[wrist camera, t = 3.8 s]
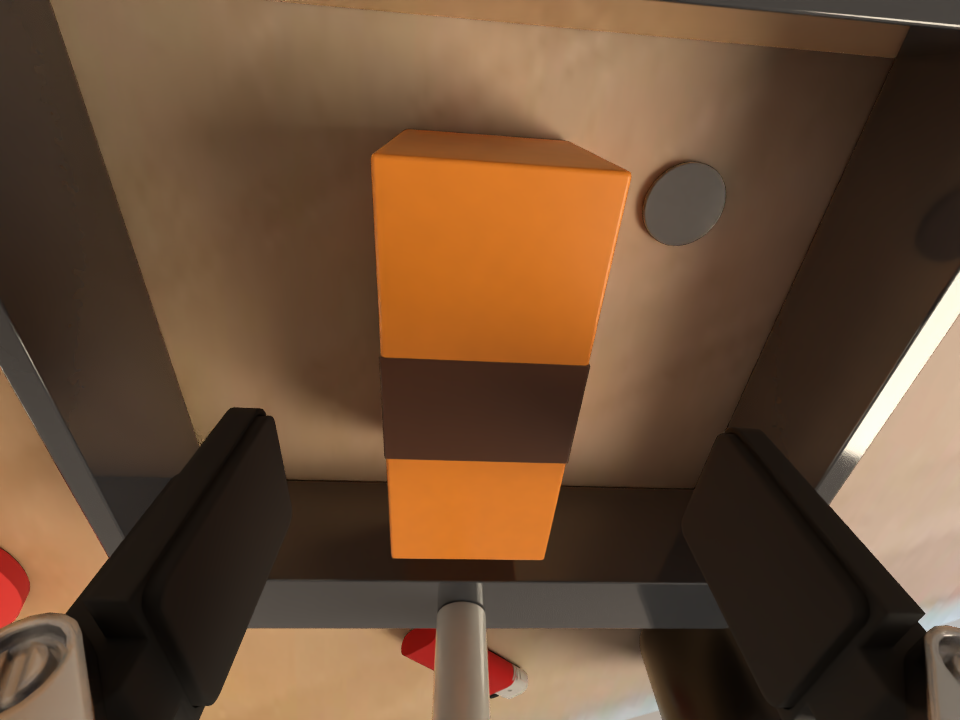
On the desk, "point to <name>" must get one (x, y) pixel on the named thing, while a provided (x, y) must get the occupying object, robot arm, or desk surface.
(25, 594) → the canned food
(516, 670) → the lighter
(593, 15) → the sink basin
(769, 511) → the robot arm
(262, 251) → the desk surface
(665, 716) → the ink bottle
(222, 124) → the desk surface
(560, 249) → the orange striped block
